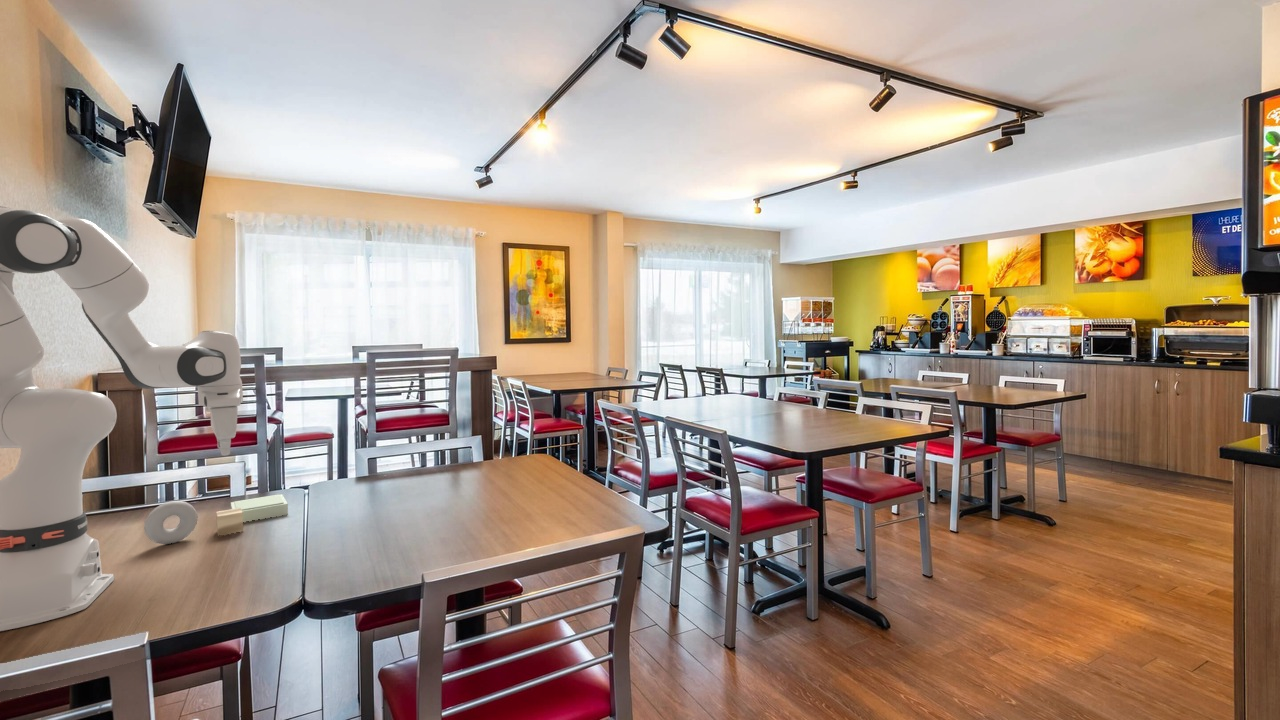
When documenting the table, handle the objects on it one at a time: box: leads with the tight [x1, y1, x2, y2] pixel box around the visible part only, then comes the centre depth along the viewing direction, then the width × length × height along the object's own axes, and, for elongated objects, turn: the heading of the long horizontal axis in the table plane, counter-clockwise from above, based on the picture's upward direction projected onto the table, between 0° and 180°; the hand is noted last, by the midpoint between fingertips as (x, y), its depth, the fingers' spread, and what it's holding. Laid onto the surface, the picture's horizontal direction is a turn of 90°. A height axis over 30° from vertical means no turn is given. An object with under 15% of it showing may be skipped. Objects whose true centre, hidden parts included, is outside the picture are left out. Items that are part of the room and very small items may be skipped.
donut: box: [143, 500, 199, 545], centre depth 132 cm, size 10×4×10 cm, turn 147°
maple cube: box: [215, 508, 244, 537], centre depth 139 cm, size 5×5×5 cm
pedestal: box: [230, 493, 289, 523], centre depth 153 cm, size 12×12×3 cm
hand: (224, 451), depth 139 cm, fingers open, 8 cm apart
